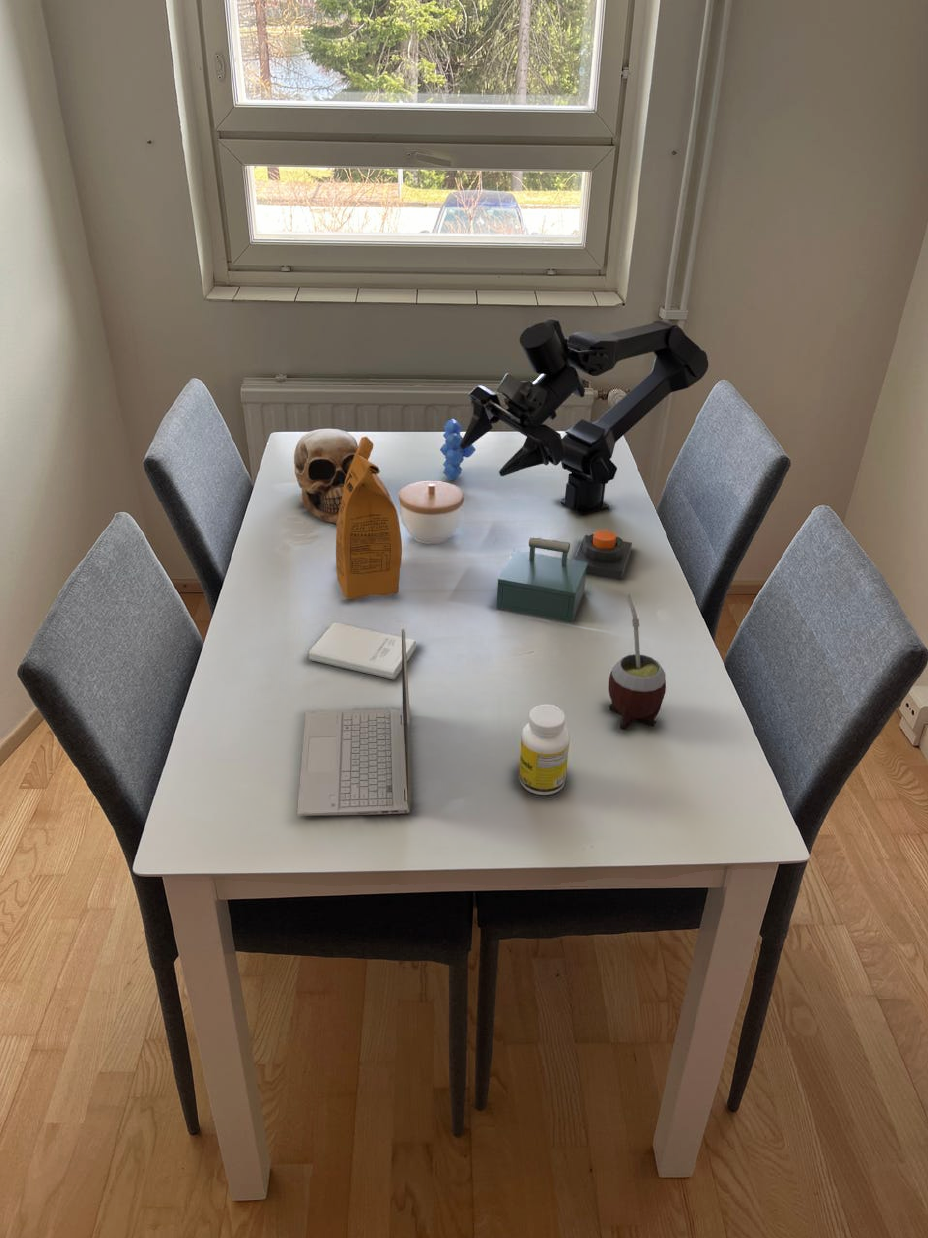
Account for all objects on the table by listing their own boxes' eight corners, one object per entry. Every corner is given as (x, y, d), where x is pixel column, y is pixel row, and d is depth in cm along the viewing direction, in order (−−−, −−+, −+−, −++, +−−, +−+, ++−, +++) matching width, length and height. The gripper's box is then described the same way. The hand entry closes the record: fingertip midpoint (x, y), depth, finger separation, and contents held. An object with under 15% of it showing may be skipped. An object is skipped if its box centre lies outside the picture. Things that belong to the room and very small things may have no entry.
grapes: (476, 492, 174) (479, 430, 167) (440, 492, 173) (441, 430, 167) (472, 466, 184) (474, 407, 177) (438, 466, 183) (438, 407, 177)
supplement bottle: (515, 765, 112) (520, 700, 106) (560, 764, 112) (567, 699, 107) (521, 798, 107) (527, 731, 102) (568, 796, 108) (576, 730, 102)
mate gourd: (646, 741, 116) (664, 641, 108) (588, 719, 119) (601, 620, 111) (669, 710, 121) (687, 612, 113) (613, 689, 125) (627, 592, 116)
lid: (513, 553, 146) (515, 527, 143) (587, 566, 143) (590, 540, 141) (497, 583, 138) (499, 556, 136) (575, 597, 136) (578, 570, 133)
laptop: (306, 715, 118) (299, 629, 111) (406, 712, 119) (405, 627, 112) (297, 819, 103) (288, 727, 96) (411, 814, 104) (411, 723, 97)
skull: (347, 528, 160) (339, 452, 154) (270, 512, 168) (259, 440, 162) (400, 498, 172) (394, 426, 165) (325, 484, 180) (317, 416, 174)
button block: (583, 543, 158) (585, 525, 156) (630, 551, 156) (633, 532, 155) (571, 571, 150) (573, 552, 148) (621, 580, 148) (623, 561, 146)
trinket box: (465, 523, 163) (467, 473, 158) (459, 553, 154) (460, 501, 149) (404, 519, 164) (404, 469, 159) (394, 548, 155) (393, 496, 150)
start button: (594, 537, 154) (596, 528, 153) (616, 541, 153) (618, 532, 152) (590, 548, 151) (591, 538, 150) (613, 551, 150) (614, 542, 149)
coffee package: (399, 560, 152) (397, 431, 140) (404, 601, 142) (402, 465, 130) (337, 562, 151) (330, 432, 139) (337, 603, 141) (329, 467, 128)
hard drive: (335, 630, 135) (416, 648, 131) (309, 661, 128) (393, 681, 125) (334, 620, 134) (416, 638, 131) (308, 651, 127) (393, 671, 124)
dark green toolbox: (511, 580, 148) (512, 556, 145) (583, 593, 145) (586, 569, 143) (496, 608, 141) (497, 583, 138) (572, 622, 138) (575, 597, 136)
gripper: (494, 336, 150) (426, 403, 148) (580, 386, 140) (508, 458, 138) (511, 382, 159) (447, 445, 157) (592, 431, 150) (525, 499, 148)
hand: (480, 460), depth 150 cm, fingers open, 9 cm apart
